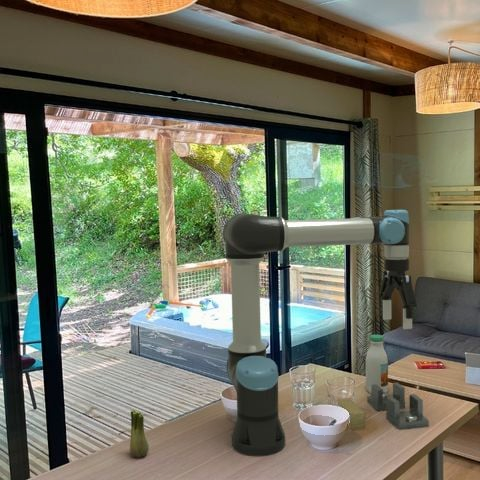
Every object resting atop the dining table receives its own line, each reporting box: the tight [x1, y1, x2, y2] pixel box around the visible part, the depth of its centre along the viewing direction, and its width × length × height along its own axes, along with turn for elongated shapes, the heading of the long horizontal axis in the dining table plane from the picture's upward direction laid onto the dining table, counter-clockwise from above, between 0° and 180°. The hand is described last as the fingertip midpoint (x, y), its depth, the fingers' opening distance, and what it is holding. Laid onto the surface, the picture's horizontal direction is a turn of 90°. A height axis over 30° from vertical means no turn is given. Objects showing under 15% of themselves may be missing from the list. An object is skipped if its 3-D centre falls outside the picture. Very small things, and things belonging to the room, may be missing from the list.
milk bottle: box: [365, 334, 389, 394], centre depth 182 cm, size 8×8×20 cm
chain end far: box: [366, 382, 406, 412], centre depth 169 cm, size 10×8×7 cm
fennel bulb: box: [129, 409, 149, 458], centre depth 139 cm, size 6×5×12 cm
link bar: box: [337, 397, 366, 431], centre depth 158 cm, size 12×4×5 cm, turn 10°
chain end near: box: [385, 393, 430, 431], centre depth 155 cm, size 10×8×7 cm
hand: (396, 324), depth 164 cm, fingers open, 13 cm apart
